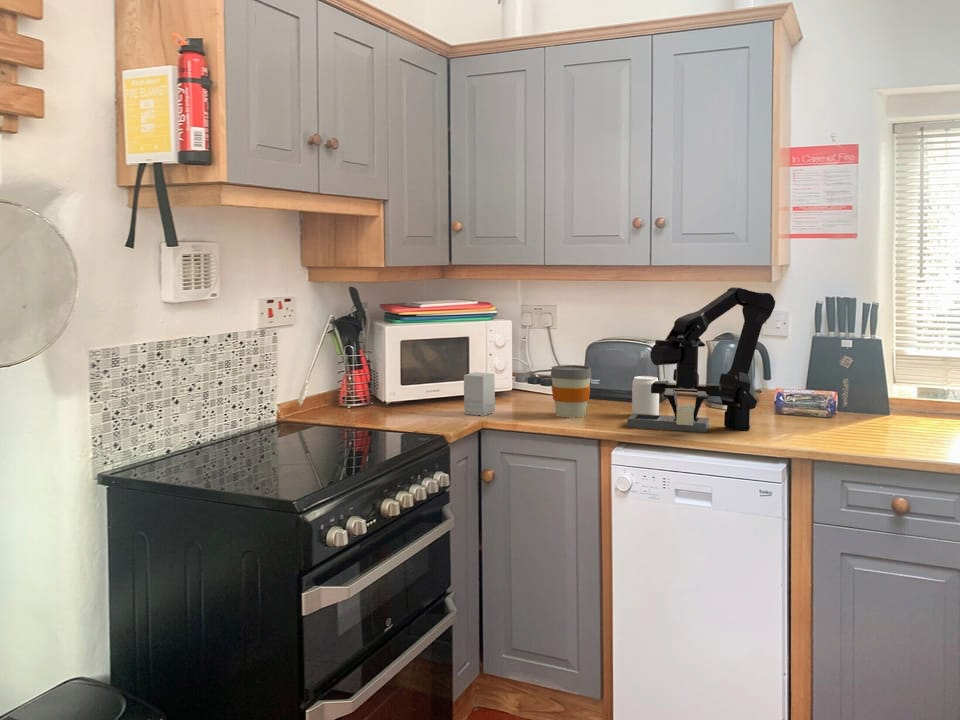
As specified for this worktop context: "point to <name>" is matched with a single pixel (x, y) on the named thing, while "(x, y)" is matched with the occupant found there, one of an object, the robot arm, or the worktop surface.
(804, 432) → the worktop surface
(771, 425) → the worktop surface
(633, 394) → the beverage can
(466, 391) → the supplement box
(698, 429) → the grey compartment tray
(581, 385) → the reusable coffee cup
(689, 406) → the block
